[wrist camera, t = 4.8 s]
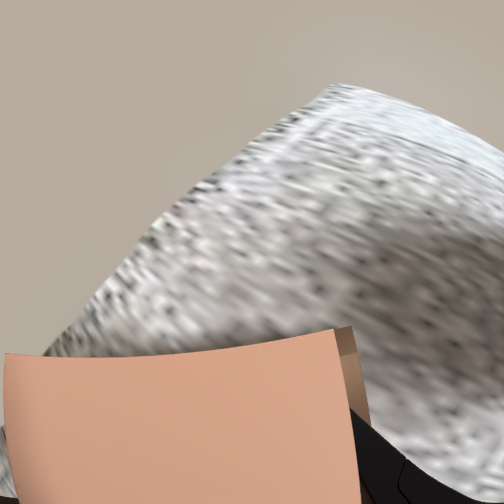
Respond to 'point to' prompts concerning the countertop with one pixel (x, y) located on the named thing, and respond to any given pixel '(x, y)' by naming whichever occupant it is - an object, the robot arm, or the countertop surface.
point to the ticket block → (184, 427)
